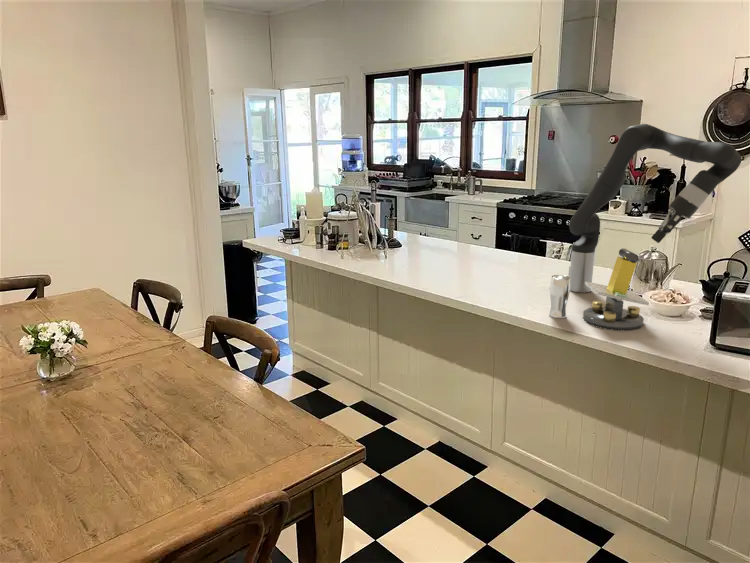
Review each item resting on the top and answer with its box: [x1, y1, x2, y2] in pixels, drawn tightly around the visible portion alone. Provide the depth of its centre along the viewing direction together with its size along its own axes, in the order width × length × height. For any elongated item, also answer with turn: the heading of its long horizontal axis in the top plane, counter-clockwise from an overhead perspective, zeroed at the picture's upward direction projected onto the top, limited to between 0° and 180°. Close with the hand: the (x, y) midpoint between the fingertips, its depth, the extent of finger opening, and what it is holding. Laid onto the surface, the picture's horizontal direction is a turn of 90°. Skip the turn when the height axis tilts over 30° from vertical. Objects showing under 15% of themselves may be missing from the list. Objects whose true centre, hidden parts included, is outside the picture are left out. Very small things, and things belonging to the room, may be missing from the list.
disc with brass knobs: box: [582, 297, 645, 331], centre depth 197 cm, size 20×20×10 cm
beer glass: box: [548, 274, 571, 320], centre depth 202 cm, size 7×7×15 cm
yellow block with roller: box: [585, 247, 650, 306], centre depth 194 cm, size 14×18×16 cm
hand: (654, 240), depth 186 cm, fingers open, 8 cm apart
